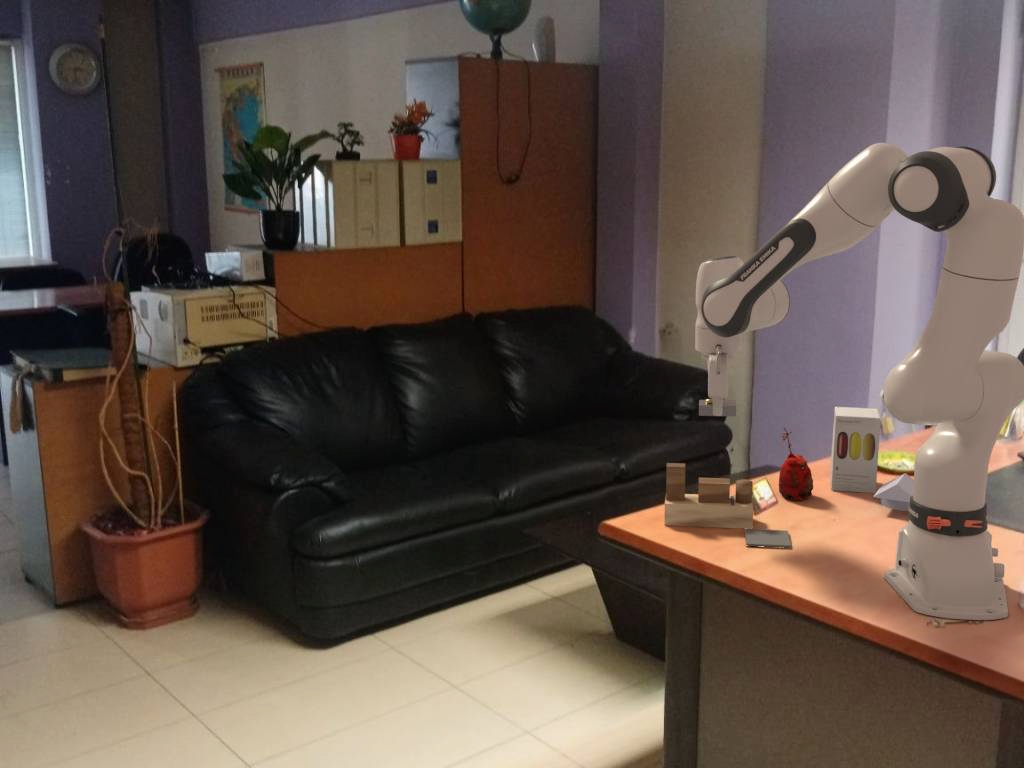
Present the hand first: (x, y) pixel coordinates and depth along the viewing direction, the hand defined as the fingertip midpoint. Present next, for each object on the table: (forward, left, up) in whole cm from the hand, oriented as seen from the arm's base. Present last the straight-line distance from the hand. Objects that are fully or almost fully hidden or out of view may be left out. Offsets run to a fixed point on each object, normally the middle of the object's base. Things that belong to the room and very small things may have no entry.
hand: (717, 411), depth 199 cm
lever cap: (0, 0, 0) cm, 0 cm away
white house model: (+14, -38, -23) cm, 46 cm away
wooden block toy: (0, +1, -23) cm, 23 cm away
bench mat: (-9, -10, -23) cm, 26 cm away
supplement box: (+27, -30, -23) cm, 46 cm away
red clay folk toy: (+18, -17, -23) cm, 34 cm away
